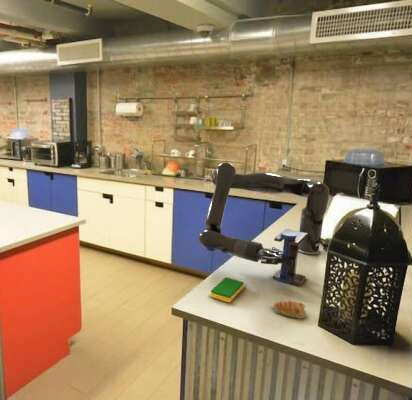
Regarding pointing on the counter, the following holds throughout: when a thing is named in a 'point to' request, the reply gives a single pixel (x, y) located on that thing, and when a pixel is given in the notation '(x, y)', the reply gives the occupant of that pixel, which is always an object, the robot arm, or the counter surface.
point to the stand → (295, 278)
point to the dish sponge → (227, 289)
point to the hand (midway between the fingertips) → (293, 261)
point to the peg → (285, 256)
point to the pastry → (290, 309)
